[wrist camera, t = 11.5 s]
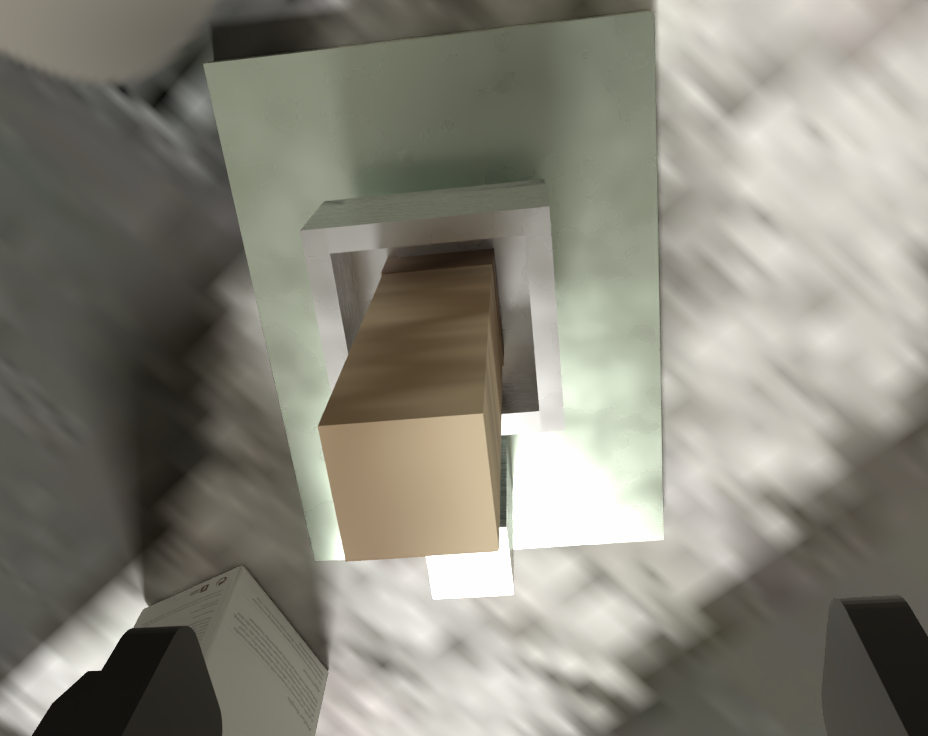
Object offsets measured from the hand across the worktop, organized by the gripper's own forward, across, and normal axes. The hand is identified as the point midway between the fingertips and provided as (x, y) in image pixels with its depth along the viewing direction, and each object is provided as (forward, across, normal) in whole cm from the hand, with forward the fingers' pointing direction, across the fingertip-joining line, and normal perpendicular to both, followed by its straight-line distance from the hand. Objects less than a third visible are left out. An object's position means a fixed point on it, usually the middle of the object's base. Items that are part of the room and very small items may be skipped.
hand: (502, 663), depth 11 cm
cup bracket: (+25, +3, +5) cm, 25 cm away
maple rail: (+20, +3, +2) cm, 20 cm away
